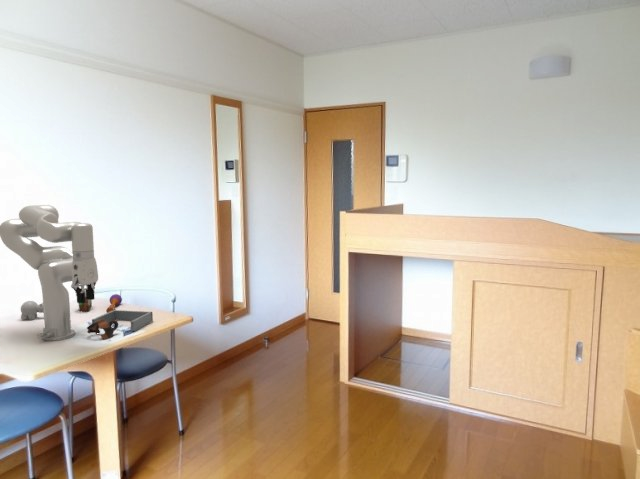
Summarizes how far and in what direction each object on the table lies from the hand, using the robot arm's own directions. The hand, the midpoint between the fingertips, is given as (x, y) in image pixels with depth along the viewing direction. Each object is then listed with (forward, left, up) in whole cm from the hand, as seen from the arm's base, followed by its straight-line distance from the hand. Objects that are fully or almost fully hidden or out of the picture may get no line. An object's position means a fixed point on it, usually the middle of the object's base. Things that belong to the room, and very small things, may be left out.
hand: (85, 300), depth 187 cm
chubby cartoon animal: (+29, +47, -18) cm, 58 cm away
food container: (+47, +35, -18) cm, 61 cm away
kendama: (+52, +22, -18) cm, 59 cm away
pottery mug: (+10, 0, -18) cm, 20 cm away
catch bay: (+25, 0, -17) cm, 30 cm away
